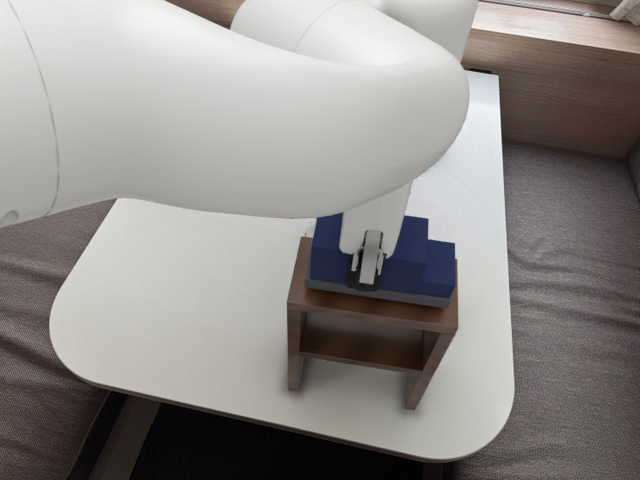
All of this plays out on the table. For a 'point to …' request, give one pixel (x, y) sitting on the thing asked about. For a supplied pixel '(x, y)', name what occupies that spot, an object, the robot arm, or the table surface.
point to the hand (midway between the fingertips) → (365, 261)
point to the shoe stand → (366, 331)
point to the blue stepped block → (387, 264)
